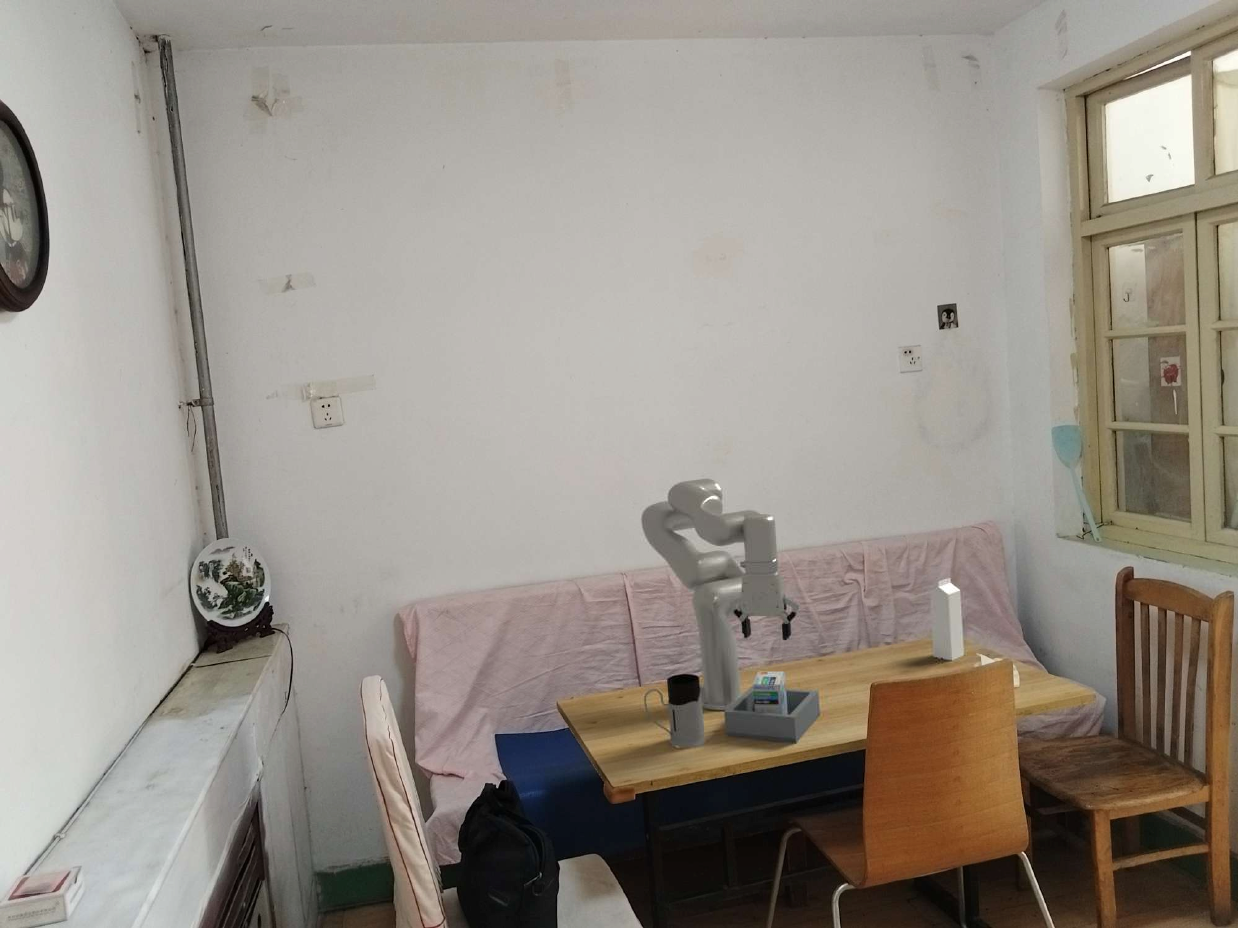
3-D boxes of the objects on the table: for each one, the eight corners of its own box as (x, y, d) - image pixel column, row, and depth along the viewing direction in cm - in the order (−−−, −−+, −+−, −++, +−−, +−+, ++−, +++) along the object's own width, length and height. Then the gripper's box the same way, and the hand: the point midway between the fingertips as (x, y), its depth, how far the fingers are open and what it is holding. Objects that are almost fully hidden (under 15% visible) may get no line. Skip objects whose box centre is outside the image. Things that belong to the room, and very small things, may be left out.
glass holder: (712, 743, 228) (707, 680, 227) (654, 755, 224) (648, 690, 223) (698, 731, 237) (693, 670, 235) (642, 742, 233) (637, 680, 231)
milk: (933, 657, 279) (928, 580, 277) (945, 652, 283) (940, 576, 281) (952, 660, 274) (947, 582, 272) (964, 655, 278) (959, 578, 276)
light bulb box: (784, 729, 231) (780, 684, 230) (755, 729, 232) (751, 684, 231) (788, 713, 241) (785, 670, 240) (760, 713, 243) (757, 670, 242)
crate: (726, 736, 232) (724, 711, 232) (753, 709, 249) (752, 686, 248) (796, 743, 224) (794, 717, 224) (819, 714, 241) (818, 690, 240)
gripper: (721, 569, 234) (727, 640, 236) (792, 571, 226) (797, 644, 228) (733, 563, 241) (738, 631, 242) (802, 564, 233) (806, 635, 234)
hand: (766, 637), depth 235 cm, fingers open, 9 cm apart
